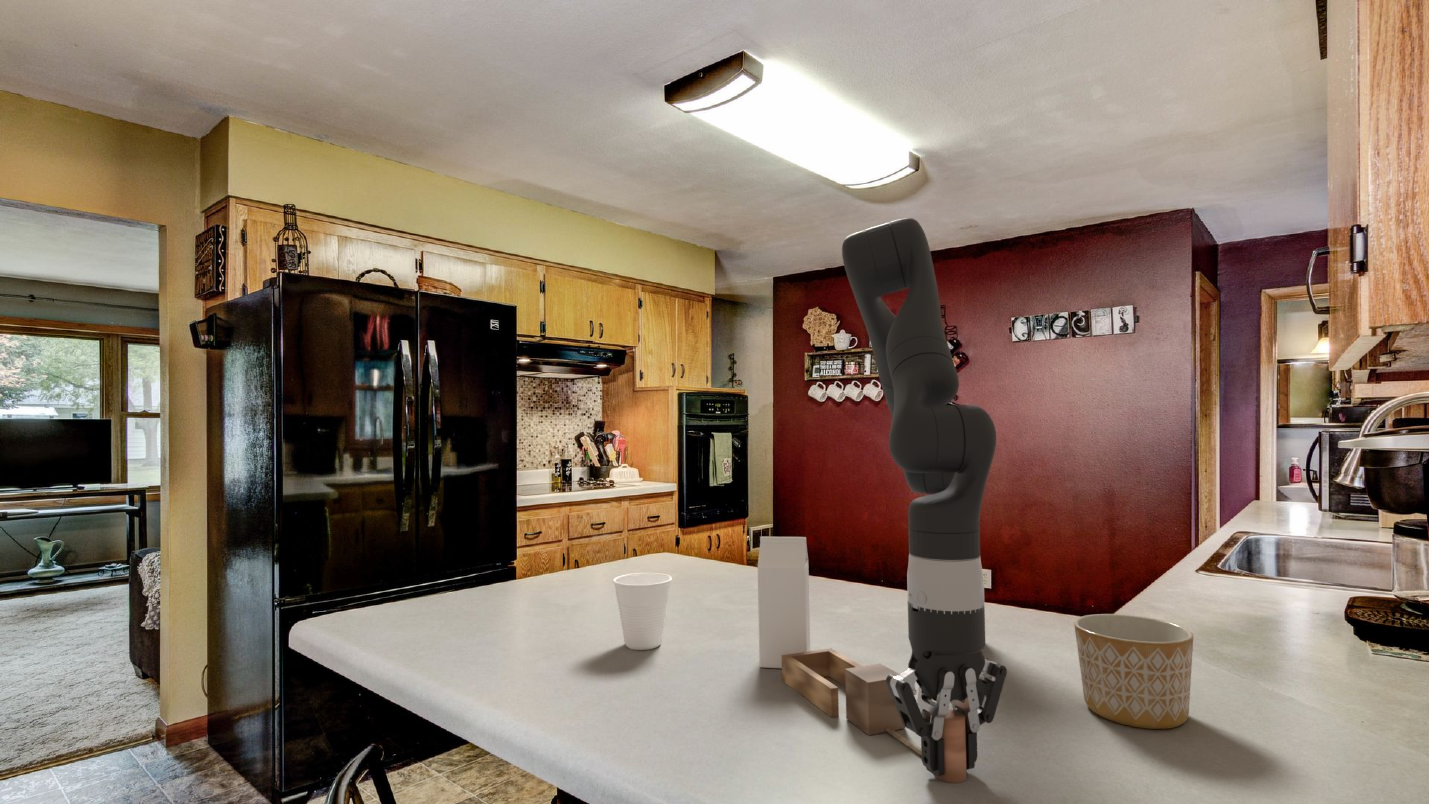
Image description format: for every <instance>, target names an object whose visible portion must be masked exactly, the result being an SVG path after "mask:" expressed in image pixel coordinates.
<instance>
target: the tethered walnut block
mask: <svg viewBox="0 0 1429 804" xmlns="http://www.w3.org/2000/svg"><path fill="white" fill-rule="evenodd" d="M890 674H893V675H895V676H898V675H899V674H900V673H899V672H897V671H895V670H893V669H891V668H889V667H888V666H885V665H884V664H882V663H874V664H869V665H861V666H860V667H854V668H847V669H845V681H846V686H845V714H846V715H845V718H846V720H848V721H849V722H850V723H852V724H853V725H854V726H856V727H858V729H860V730H861V731H863V733H865V734H866V735H868V736H872V735H877V734H881V733H888V734H890V735H891V736H892V737H894V738H895V739H896V740H898V742H900V743H902V744H904V745H905V746H906V747H908V748H910V749H911V750H913V751H914V752H915V753H917V754H918V755H919V756H921V757H922V754H921V751H922V750H921V747H919V746H918V745H916V744H915V743H913V742H912V741H910V740H909V739H908V738H906V737H904V736H903V735H902V734H900V733H898V731H897V730H902V729H906V727H905V726H904V725H903V723H902V721H901V718H900V716H899V713H898V711H897V708H896V706H895V703H894V701H893V698H892V696H891V693H890V691H889V688H888V686H887V684H886V678H887V676H888V675H890ZM941 738H942V739H944V770H945V773H944V775H942V776H938V777H937V776H935V775H934V777H935V778H936V779H938V780H940V781H943V782H945V783H951V784H952V783H953V784H959V783H963V782H965V781H966V780H967V778H968V777H967V769H966V733H965V716H964V714H962V713H961V712H958V711H955V710H953V709H950V708H949V712H948V716H946V717H945V718H944V724H943V732H942V737H941Z"/></svg>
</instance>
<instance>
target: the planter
mask: <svg viewBox="0 0 1429 804" xmlns="http://www.w3.org/2000/svg"><path fill="white" fill-rule="evenodd" d="M1073 624H1074V626H1073V627H1074V634H1075V639H1076V648H1077V656H1078V662H1079V669H1080V676H1081V677H1080V678H1081V684H1082V692H1083V698H1084V702H1085V704H1086V706H1087V707H1088V708H1089V709H1090V710H1091V711H1092V712H1093V713H1095V714H1096V715H1098V716H1100V717H1101V718H1104V719H1106V720H1108V721H1111V722H1114V723H1117V724H1121V725H1123V726H1129V727H1133V728H1138V729H1139V728H1140V729H1147V730H1148V729H1149V730H1166V729H1172V728H1177V727H1179V726H1181V725H1183V724H1184V723H1185V722H1186V721H1187V720H1188V718H1189V714H1190V699H1191V697H1190V696H1191V685H1192V667H1193V652H1194V651H1193V650H1194V648H1193V647H1194V633H1193V632H1192V631H1191V630H1189V629H1188V628H1186V627H1184V626H1182V625H1179V624H1176V623H1174V622H1170V621H1166V620H1161V619H1159V618H1158V619H1157V618H1153V617H1146V616H1140V615H1130V614H1117V613H1100V614H1099V613H1097V614H1086V615H1083V616H1080V617H1077V618H1076V619H1075V620H1074V621H1073Z"/></svg>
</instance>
